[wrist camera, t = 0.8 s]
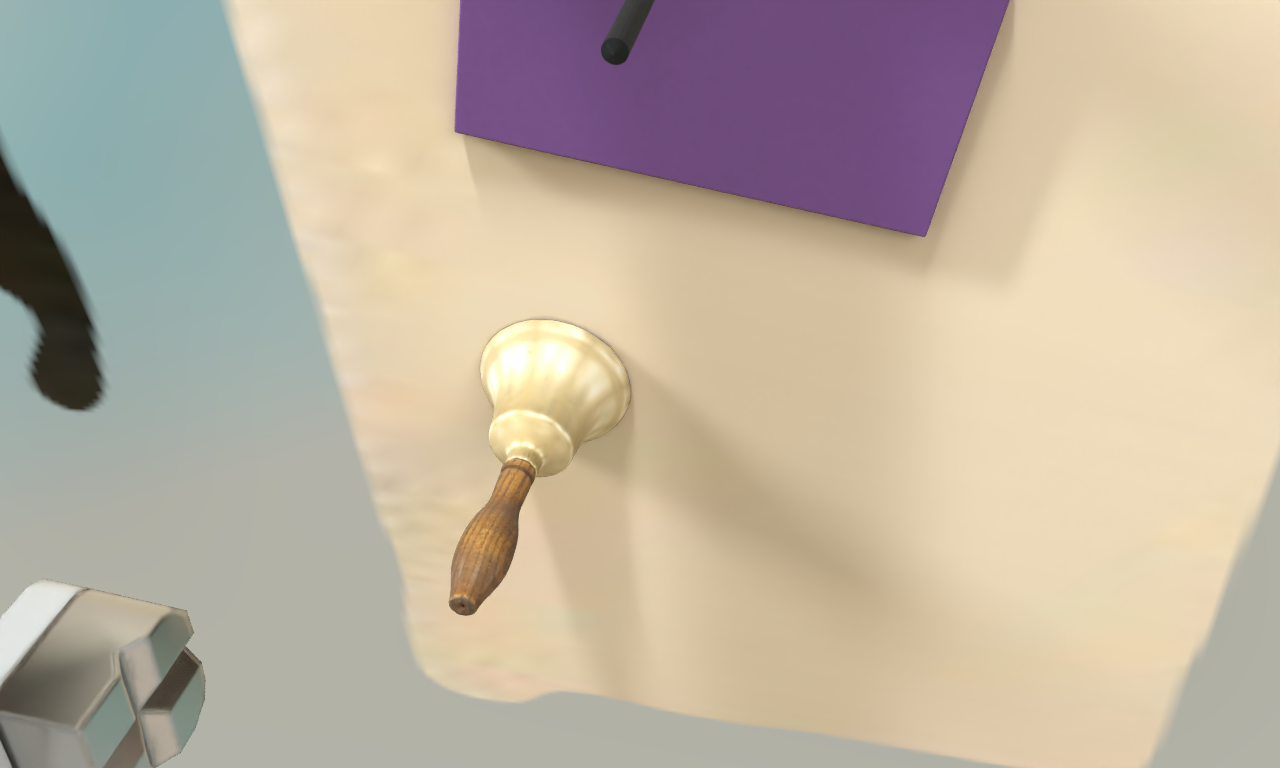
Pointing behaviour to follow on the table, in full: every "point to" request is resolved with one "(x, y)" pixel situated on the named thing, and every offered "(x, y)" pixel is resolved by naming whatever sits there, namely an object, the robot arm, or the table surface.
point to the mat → (740, 94)
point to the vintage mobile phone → (625, 30)
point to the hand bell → (533, 434)
